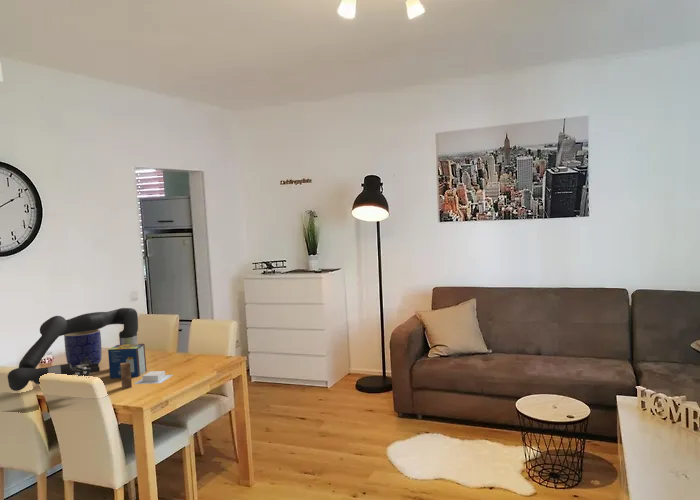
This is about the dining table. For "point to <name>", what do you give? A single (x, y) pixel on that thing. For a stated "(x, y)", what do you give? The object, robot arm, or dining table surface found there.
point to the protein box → (127, 359)
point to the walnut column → (126, 375)
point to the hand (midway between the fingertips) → (99, 367)
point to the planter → (83, 347)
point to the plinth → (153, 376)
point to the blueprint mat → (154, 382)
